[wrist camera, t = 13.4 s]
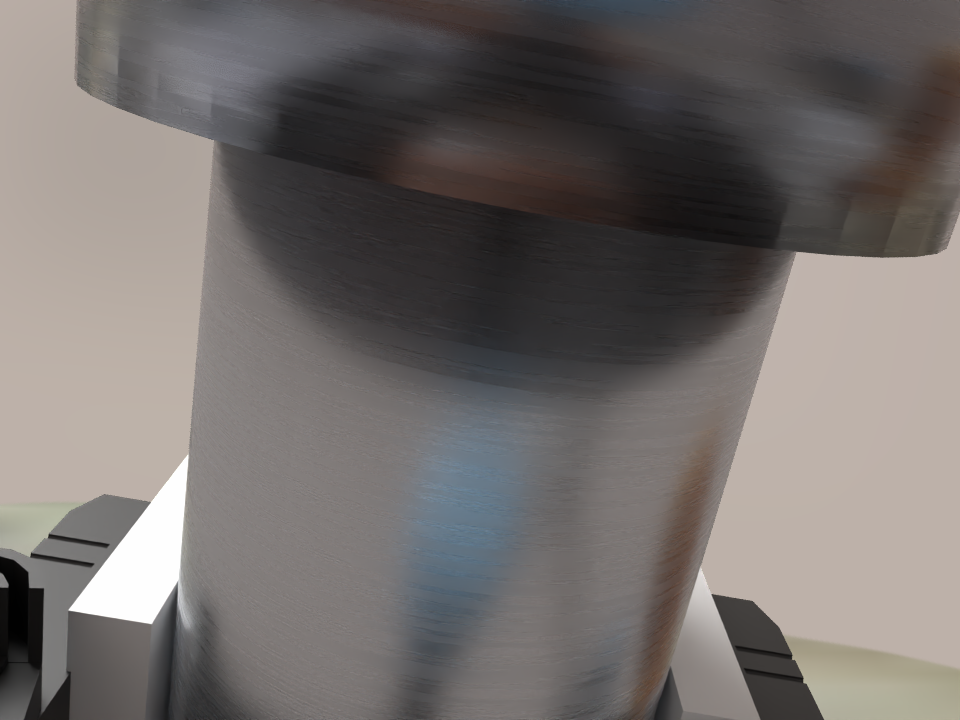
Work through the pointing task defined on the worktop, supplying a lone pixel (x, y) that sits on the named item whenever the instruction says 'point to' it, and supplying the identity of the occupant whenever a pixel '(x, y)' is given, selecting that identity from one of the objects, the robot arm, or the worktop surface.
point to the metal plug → (499, 318)
